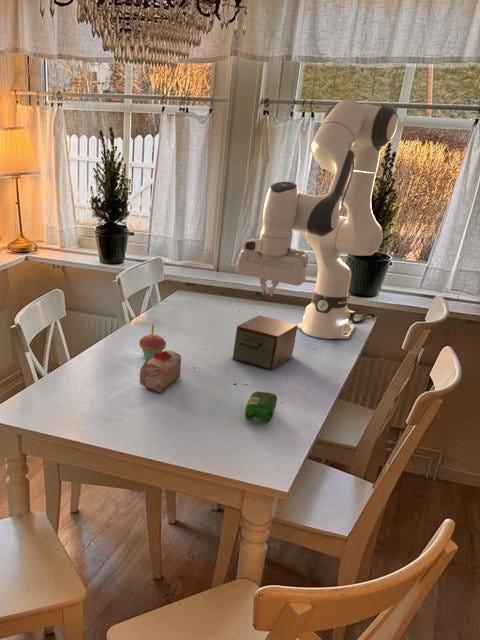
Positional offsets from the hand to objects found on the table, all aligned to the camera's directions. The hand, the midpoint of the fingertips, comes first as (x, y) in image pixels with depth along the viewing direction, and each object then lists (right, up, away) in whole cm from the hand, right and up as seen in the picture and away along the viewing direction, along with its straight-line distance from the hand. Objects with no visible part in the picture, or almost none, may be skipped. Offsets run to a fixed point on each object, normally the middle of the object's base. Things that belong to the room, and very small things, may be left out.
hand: (267, 294), depth 192 cm
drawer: (0, -16, +16) cm, 23 cm away
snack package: (-6, -38, -18) cm, 42 cm away
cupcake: (-33, -15, +16) cm, 40 cm away
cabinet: (+3, -15, +19) cm, 25 cm away
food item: (-32, -27, -2) cm, 41 cm away
